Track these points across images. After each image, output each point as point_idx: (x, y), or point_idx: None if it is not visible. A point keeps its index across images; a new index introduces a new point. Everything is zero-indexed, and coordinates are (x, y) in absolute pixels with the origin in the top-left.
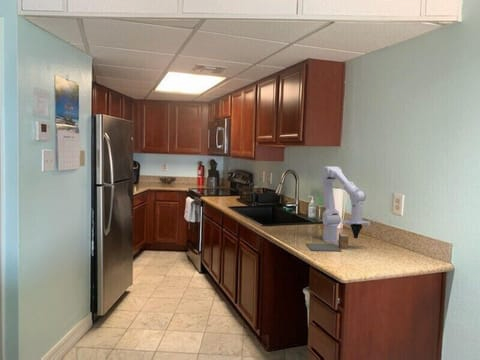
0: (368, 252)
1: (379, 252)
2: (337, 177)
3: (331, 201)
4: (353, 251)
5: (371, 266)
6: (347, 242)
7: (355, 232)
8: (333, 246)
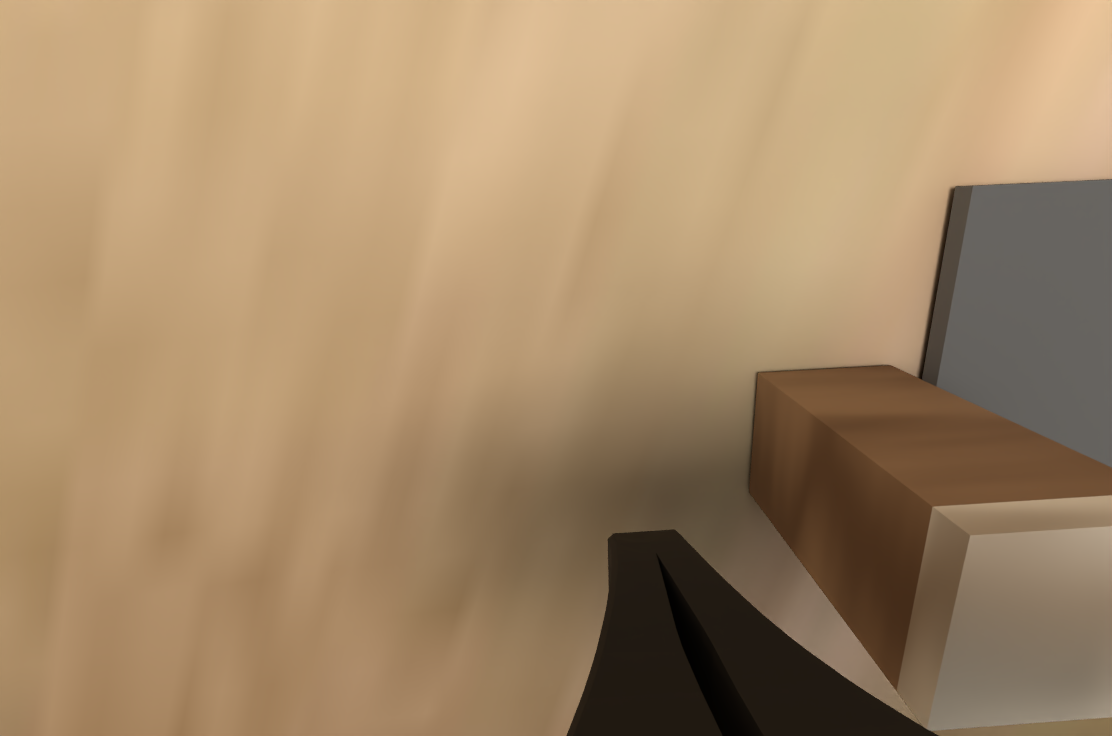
0: (412, 224)
1: (184, 252)
2: None
3: None
4: (691, 263)
5: None
6: (841, 424)
7: (756, 638)
8: None
